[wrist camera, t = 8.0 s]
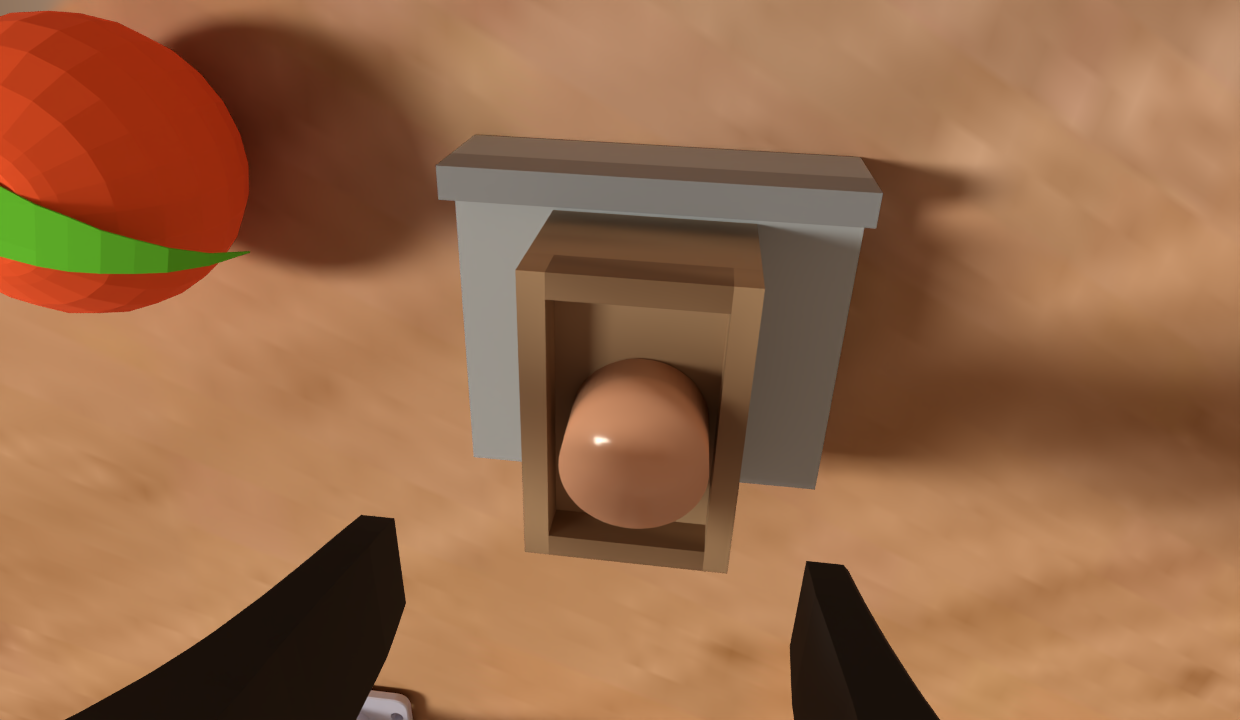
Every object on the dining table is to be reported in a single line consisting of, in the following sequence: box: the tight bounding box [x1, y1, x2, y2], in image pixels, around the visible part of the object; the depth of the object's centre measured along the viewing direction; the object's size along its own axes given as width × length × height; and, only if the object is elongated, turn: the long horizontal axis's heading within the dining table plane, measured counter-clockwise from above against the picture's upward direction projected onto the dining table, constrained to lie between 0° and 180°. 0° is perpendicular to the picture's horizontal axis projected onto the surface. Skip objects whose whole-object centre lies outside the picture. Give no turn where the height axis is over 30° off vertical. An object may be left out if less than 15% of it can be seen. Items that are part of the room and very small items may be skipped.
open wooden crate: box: [515, 210, 765, 574], centre depth 19 cm, size 8×5×4 cm, turn 178°
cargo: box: [558, 359, 709, 529], centre depth 17 cm, size 3×3×2 cm
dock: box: [436, 135, 883, 489], centre depth 21 cm, size 9×10×3 cm
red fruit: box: [0, 11, 250, 313], centre depth 19 cm, size 8×7×7 cm
